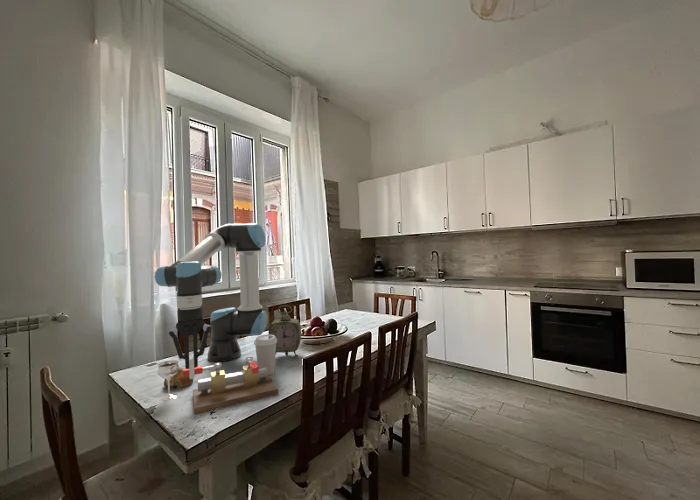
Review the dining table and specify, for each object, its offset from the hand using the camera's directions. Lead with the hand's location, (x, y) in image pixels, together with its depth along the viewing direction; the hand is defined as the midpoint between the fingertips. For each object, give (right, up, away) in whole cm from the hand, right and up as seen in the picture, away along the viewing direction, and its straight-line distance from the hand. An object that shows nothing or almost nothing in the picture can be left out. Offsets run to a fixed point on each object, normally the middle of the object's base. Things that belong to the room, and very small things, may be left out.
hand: (191, 377), depth 106 cm
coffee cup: (+18, -9, +27) cm, 33 cm away
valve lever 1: (+2, 0, +4) cm, 4 cm away
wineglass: (-11, -10, +6) cm, 16 cm away
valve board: (+12, -9, +7) cm, 17 cm away
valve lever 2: (+18, +1, +7) cm, 19 cm away
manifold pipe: (+11, -7, +9) cm, 16 cm away
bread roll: (-14, -10, +17) cm, 24 cm away
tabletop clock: (+22, -9, +46) cm, 52 cm away
